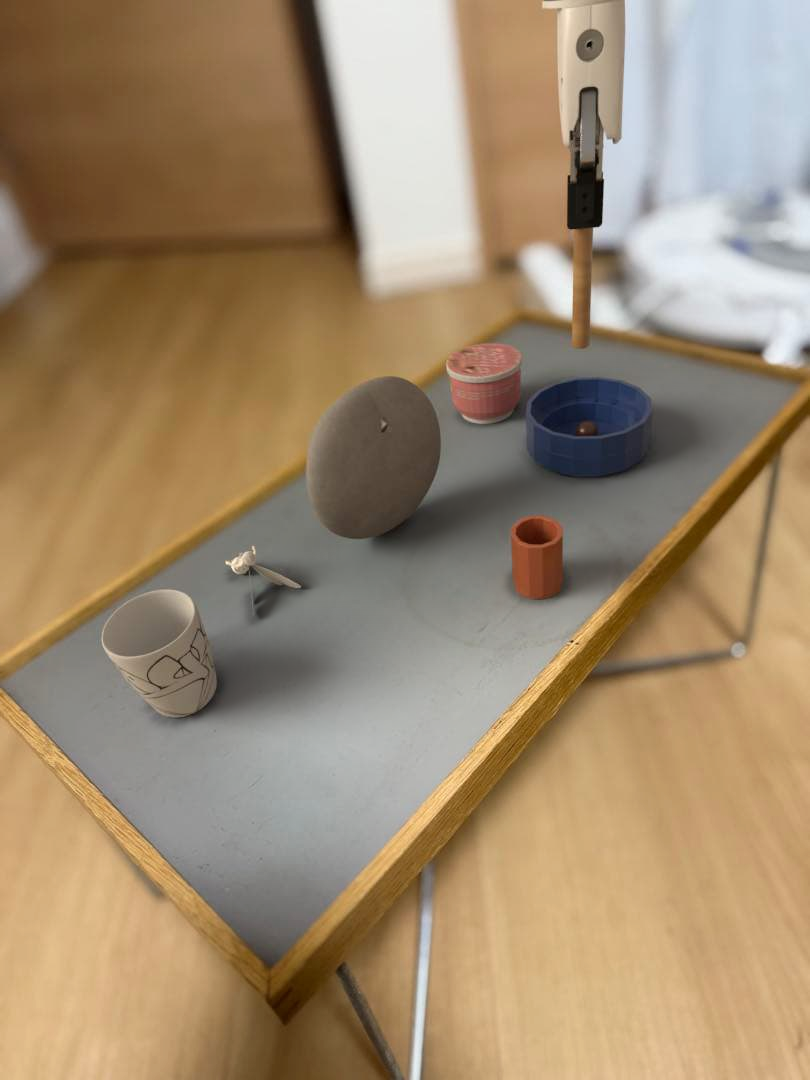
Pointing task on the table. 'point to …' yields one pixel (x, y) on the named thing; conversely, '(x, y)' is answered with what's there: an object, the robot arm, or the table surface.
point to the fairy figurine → (258, 569)
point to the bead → (587, 429)
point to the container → (485, 381)
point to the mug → (163, 651)
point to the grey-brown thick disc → (372, 457)
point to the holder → (537, 556)
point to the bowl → (599, 401)
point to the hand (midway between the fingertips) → (584, 221)
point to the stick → (582, 286)
